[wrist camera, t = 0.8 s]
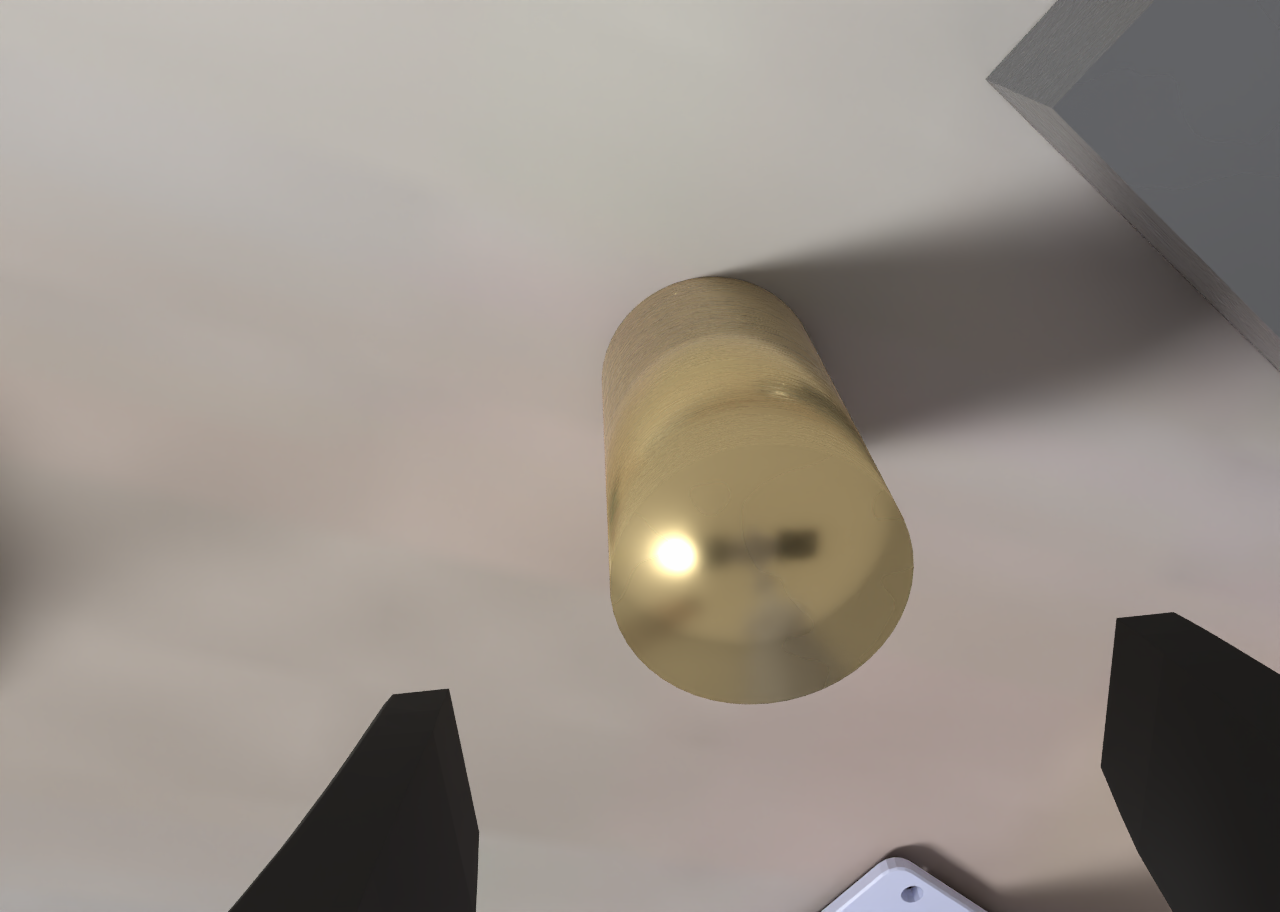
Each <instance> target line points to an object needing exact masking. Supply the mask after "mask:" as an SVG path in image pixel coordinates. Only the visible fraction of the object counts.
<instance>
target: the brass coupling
mask: <svg viewBox="0 0 1280 912" xmlns="http://www.w3.org/2000/svg"><path fill="white" fill-rule="evenodd" d="M602 393H603V418H604V444H605V469H606V494H607V520H608V545H609V571H610V596H611V602H612V607H613V612H614V615H615V618H616V621H617V624H618V626H619V629H620V631H621V633H622V635H623V636H624V638H625V640H626V642H627V644H628V645H629V646H630V648H631V649H632V650H633V652H634V653H635V654H636V656H637V657H638V658H639V659H640V660H641V661H642V662H643V663H644V664H645V665H646V666H647V667H648V668H649V669H650V670H651V671H653V672H654V673H655V674H657V675H658V676H659V677H661V678H662V679H663V680H665V681H667V682H669V683H670V684H672V685H674V686H676V687H677V688H679V689H682V690H684V691H686V692H689V693H691V694H693V695H696V696H700V697H703V698H707V699H710V700H714V701H720V702H726V703H735V704H768V703H774V702H781V701H787V700H791V699H795V698H799V697H802V696H806V695H808V694H811V693H814V692H816V691H819V690H822V689H824V688H826V687H828V686H830V685H832V684H834V683H836V682H838V681H840V680H841V679H843V678H844V677H846V676H848V675H849V674H851V673H852V672H854V671H855V670H856V669H858V668H859V667H860V666H861V665H863V664H864V663H865V662H866V661H867V660H869V659H870V658H871V657H872V656H873V655H874V654H875V653H876V651H877V650H878V649H879V648H880V647H881V646H882V645H883V644H884V642H885V641H886V640H887V638H888V637H889V636H890V634H891V633H892V632H893V630H894V628H895V627H896V625H897V623H898V621H899V620H900V618H901V616H902V613H903V611H904V609H905V606H906V604H907V601H908V598H909V594H910V590H911V586H912V578H913V568H914V566H913V549H912V545H911V540H910V535H909V532H908V529H907V527H906V524H905V522H904V519H903V517H902V515H901V513H900V511H899V509H898V507H897V505H896V503H895V501H894V499H893V497H892V496H891V494H890V492H889V490H888V488H887V486H886V484H885V482H884V480H883V478H882V476H881V474H880V472H879V471H878V469H877V467H876V465H875V463H874V461H873V459H872V457H871V455H870V453H869V451H868V449H867V447H866V446H865V444H864V442H863V440H862V438H861V436H860V434H859V432H858V430H857V428H856V426H855V424H854V422H853V421H852V419H851V417H850V415H849V413H848V411H847V409H846V407H845V405H844V403H843V401H842V399H841V397H840V396H839V394H838V392H837V390H836V388H835V386H834V384H833V382H832V380H831V378H830V376H829V374H828V372H827V371H826V369H825V367H824V365H823V363H822V361H821V359H820V357H819V355H818V353H817V351H816V349H815V347H814V346H813V344H812V342H811V340H810V338H809V336H808V334H807V332H806V330H805V329H804V327H803V325H802V323H801V322H800V320H799V319H798V318H797V316H796V315H795V314H794V312H793V311H792V310H791V309H790V308H789V307H788V306H787V305H786V304H785V303H784V302H783V301H781V300H780V299H779V298H777V297H776V296H775V295H773V294H772V293H770V292H768V291H766V290H765V289H763V288H761V287H759V286H756V285H754V284H751V283H748V282H746V281H741V280H737V279H732V278H723V277H702V278H695V279H689V280H685V281H682V282H678V283H675V284H672V285H670V286H668V287H665V288H663V289H661V290H659V291H657V292H656V293H654V294H652V295H651V296H649V297H648V298H646V299H645V300H644V301H642V302H641V303H640V304H639V305H637V306H636V307H635V308H634V309H633V310H632V311H631V312H630V313H629V314H628V315H627V316H626V318H625V319H624V320H623V322H622V323H621V324H620V326H619V327H618V329H617V330H616V332H615V334H614V336H613V337H612V339H611V342H610V344H609V347H608V349H607V352H606V356H605V360H604V364H603V372H602Z"/></svg>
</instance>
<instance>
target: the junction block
mask: <svg viewBox="0 0 1280 912" xmlns="http://www.w3.org/2000/svg"><path fill="white" fill-rule="evenodd" d="M986 80H987V81H988V82H989V83H990V84H991V85H992V86H993V87H994V88H995V89H996V90H997V91H998V92H999V93H1000V94H1001V95H1002V96H1003V97H1004V98H1005V99H1006V100H1007V101H1008V102H1009V103H1010V104H1011V105H1012V106H1013V107H1014V108H1015V109H1016V110H1017V111H1018V112H1019V113H1020V114H1021V115H1022V116H1023V117H1024V118H1025V119H1026V120H1027V121H1028V122H1029V123H1030V124H1031V125H1032V126H1033V127H1034V128H1035V129H1036V130H1037V131H1038V132H1039V133H1040V134H1041V135H1042V136H1043V137H1044V138H1045V139H1046V140H1047V141H1048V142H1049V143H1050V144H1051V145H1052V146H1053V147H1054V148H1055V149H1056V150H1057V151H1058V152H1059V153H1060V154H1061V155H1062V156H1063V157H1064V158H1065V159H1066V160H1067V161H1068V162H1069V163H1070V164H1071V165H1072V166H1073V167H1074V168H1075V169H1076V170H1077V171H1078V172H1079V173H1080V174H1081V175H1082V176H1083V177H1084V178H1085V179H1086V180H1087V181H1088V182H1089V183H1090V184H1091V185H1092V186H1093V187H1094V188H1095V189H1096V190H1097V191H1098V192H1099V193H1100V194H1101V195H1102V196H1103V197H1104V198H1105V199H1106V200H1107V201H1108V202H1109V203H1110V204H1111V205H1112V206H1113V207H1114V208H1115V209H1117V210H1118V211H1119V212H1120V213H1121V214H1122V215H1123V216H1124V217H1125V218H1126V219H1127V220H1128V221H1129V222H1130V223H1131V224H1132V225H1133V226H1134V227H1135V228H1136V229H1137V230H1138V231H1139V232H1140V233H1141V234H1142V235H1143V236H1144V237H1145V238H1146V239H1147V240H1148V241H1149V242H1150V243H1151V244H1152V245H1153V246H1154V247H1155V248H1156V249H1157V250H1158V251H1159V252H1160V253H1161V254H1162V255H1163V256H1164V257H1165V258H1166V259H1167V260H1168V261H1169V262H1170V263H1171V264H1172V265H1173V266H1174V267H1175V268H1176V269H1177V270H1178V271H1179V272H1180V273H1181V274H1182V275H1183V276H1184V277H1185V278H1186V279H1187V280H1188V281H1189V282H1190V283H1191V284H1192V285H1193V286H1194V287H1195V288H1196V289H1197V290H1198V291H1199V292H1200V293H1201V294H1202V295H1203V296H1204V297H1205V298H1206V299H1207V300H1208V301H1209V302H1210V303H1211V304H1212V305H1213V306H1214V307H1215V308H1216V309H1217V310H1218V311H1219V312H1220V313H1221V314H1222V315H1223V316H1224V317H1225V318H1226V319H1227V320H1228V321H1229V322H1230V323H1231V324H1232V325H1233V326H1234V327H1235V328H1236V329H1237V330H1238V331H1239V332H1240V333H1241V334H1242V335H1243V336H1244V337H1245V338H1246V339H1247V340H1248V341H1249V342H1250V343H1251V344H1252V345H1253V346H1254V347H1255V348H1256V349H1257V350H1258V351H1259V352H1260V353H1261V354H1262V355H1263V356H1264V357H1265V358H1266V359H1267V360H1268V361H1269V362H1270V363H1271V364H1272V365H1273V366H1274V367H1275V368H1276V369H1277V370H1278V371H1279V372H1280V0H1058V1H1057V2H1056V3H1055V4H1054V5H1053V6H1052V7H1051V8H1050V10H1049V11H1048V12H1047V13H1046V14H1045V15H1044V16H1043V17H1042V18H1041V19H1040V21H1039V22H1038V23H1037V24H1036V25H1035V26H1034V27H1033V28H1032V29H1031V30H1030V31H1029V33H1028V34H1027V35H1026V36H1025V37H1024V38H1023V39H1022V40H1021V41H1020V42H1019V43H1018V45H1017V46H1016V47H1015V48H1014V49H1013V50H1012V51H1011V52H1010V53H1009V54H1008V55H1007V57H1006V58H1005V59H1004V60H1003V61H1002V62H1001V63H1000V64H999V65H998V66H997V67H996V69H995V70H994V71H993V72H992V73H991V74H990V75H989V76H988V77H987V78H986Z"/></svg>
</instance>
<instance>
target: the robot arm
mask: <svg viewBox="0 0 1280 912" xmlns="http://www.w3.org/2000/svg"><path fill="white" fill-rule="evenodd" d="M1101 769H1102V771H1103V773H1104V776H1105V778H1106V781H1107V783H1108V785H1109V788H1110V790H1111V792H1112V795H1113V797H1114V800H1115V802H1116V804H1117V807H1118V809H1119V812H1120V814H1121V816H1122V818H1123V821H1124V823H1125V825H1126V827H1127V829H1128V832H1129V834H1130V836H1131V838H1132V840H1133V843H1134V845H1135V847H1136V849H1137V851H1138V853H1139V855H1140V857H1141V858H1142V860H1143V862H1144V864H1145V865H1146V867H1147V869H1148V870H1149V872H1150V874H1151V876H1152V877H1153V879H1154V881H1155V882H1156V884H1157V886H1158V887H1159V889H1160V891H1161V892H1162V894H1163V896H1164V897H1165V899H1166V901H1167V903H1168V904H1169V906H1170V908H1171V909H1172V911H1173V912H1280V674H1278V673H1277V672H1275V671H1273V670H1272V669H1270V668H1268V667H1267V666H1265V665H1263V664H1262V663H1260V662H1258V661H1257V660H1255V659H1253V658H1252V657H1250V656H1248V655H1247V654H1245V653H1243V652H1242V651H1240V650H1238V649H1237V648H1235V647H1233V646H1232V645H1230V644H1228V643H1227V642H1225V641H1223V640H1222V639H1220V638H1218V637H1217V636H1215V635H1213V634H1212V633H1210V632H1208V631H1207V630H1205V629H1203V628H1201V627H1200V626H1198V625H1196V624H1194V623H1193V622H1191V621H1189V620H1187V619H1185V618H1183V617H1181V616H1180V615H1178V614H1176V613H1174V612H1171V613H1162V614H1152V615H1143V616H1133V617H1124V618H1117V620H1116V629H1115V638H1114V648H1113V657H1112V666H1111V676H1110V685H1109V694H1108V704H1107V713H1106V722H1105V732H1104V741H1103V750H1102V760H1101ZM478 847H479V830H478V825H477V820H476V815H475V811H474V806H473V801H472V796H471V792H470V787H469V782H468V777H467V773H466V768H465V763H464V758H463V753H462V749H461V744H460V739H459V734H458V730H457V725H456V720H455V715H454V711H453V706H452V701H451V696H450V691H449V689H441V690H431V691H422V692H412V693H403V694H393V695H392V696H391V697H390V698H389V699H388V701H387V702H386V703H385V704H384V705H383V707H382V708H381V710H380V711H379V713H378V714H377V716H376V717H375V719H374V720H373V722H372V723H371V724H370V726H369V727H368V729H367V730H366V732H365V733H364V735H363V736H362V738H361V739H360V741H359V742H358V744H357V745H356V747H355V748H354V749H353V751H352V752H351V754H350V755H349V757H348V758H347V760H346V761H345V762H344V764H343V765H342V767H341V768H340V770H339V771H338V772H337V774H336V775H335V777H334V778H333V779H332V781H331V782H330V784H329V785H328V787H327V788H326V789H325V791H324V792H323V793H322V795H321V796H320V797H319V799H318V800H317V801H316V803H315V804H314V805H313V807H312V808H311V809H310V811H309V812H308V813H307V815H306V816H305V817H304V819H303V820H302V821H301V823H300V824H299V825H298V827H297V828H296V830H295V831H294V832H293V834H292V835H291V836H290V837H289V839H288V840H287V841H286V843H285V844H284V845H283V846H282V848H281V849H280V850H279V851H278V853H277V854H276V855H275V856H274V857H273V859H272V860H271V861H270V862H269V863H268V865H267V866H266V867H265V868H264V869H263V871H262V872H261V873H260V874H259V876H258V877H257V878H256V879H255V880H254V882H253V883H252V884H251V885H250V886H249V888H248V889H247V890H246V891H245V892H244V894H243V895H242V896H241V897H240V898H239V900H238V901H237V902H236V903H235V904H234V906H233V907H232V908H231V909H230V910H229V911H228V912H476V896H477V875H478ZM909 886H915V887H913V888H911V889H905V888H907V887H909ZM821 912H987V911H985V910H984V909H982V908H981V907H979V906H978V905H976V904H975V903H973V902H972V901H970V900H969V899H967V898H966V897H964V896H962V895H961V894H959V893H958V892H956V891H955V890H953V889H952V888H950V887H949V886H947V885H946V884H944V883H943V882H941V881H940V880H938V879H936V878H935V877H933V876H932V875H930V874H929V873H927V872H926V871H924V870H923V869H921V868H920V867H918V866H917V865H915V864H914V863H912V862H910V861H909V860H906V859H904V858H898V857H892V858H888V859H885V860H884V861H882V862H880V863H879V864H877V865H876V866H875V867H874V868H873V869H871V870H870V871H869V872H868V873H867V874H865V875H864V876H863V877H862V878H861V879H859V880H858V881H857V882H856V883H855V884H853V885H852V886H851V887H850V888H849V889H847V890H846V891H845V892H844V893H843V894H842V895H840V896H839V897H838V898H837V899H836V900H834V901H833V902H832V903H831V904H830V905H828V906H827V907H826V908H825V909H824V910H822V911H821Z"/></svg>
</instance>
